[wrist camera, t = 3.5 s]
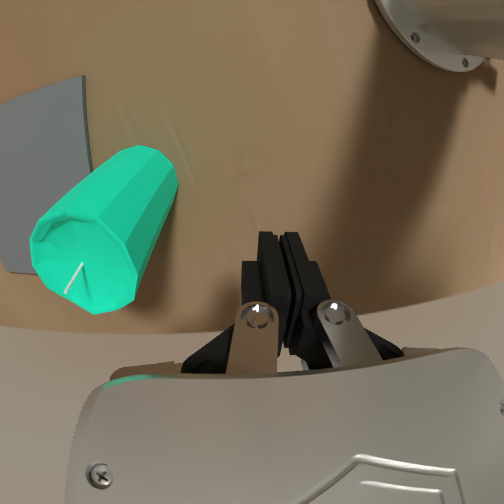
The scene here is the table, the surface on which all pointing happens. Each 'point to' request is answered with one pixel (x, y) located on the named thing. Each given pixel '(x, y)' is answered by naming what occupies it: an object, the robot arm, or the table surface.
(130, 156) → the candle
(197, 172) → the table surface
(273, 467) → the robot arm
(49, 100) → the mat
